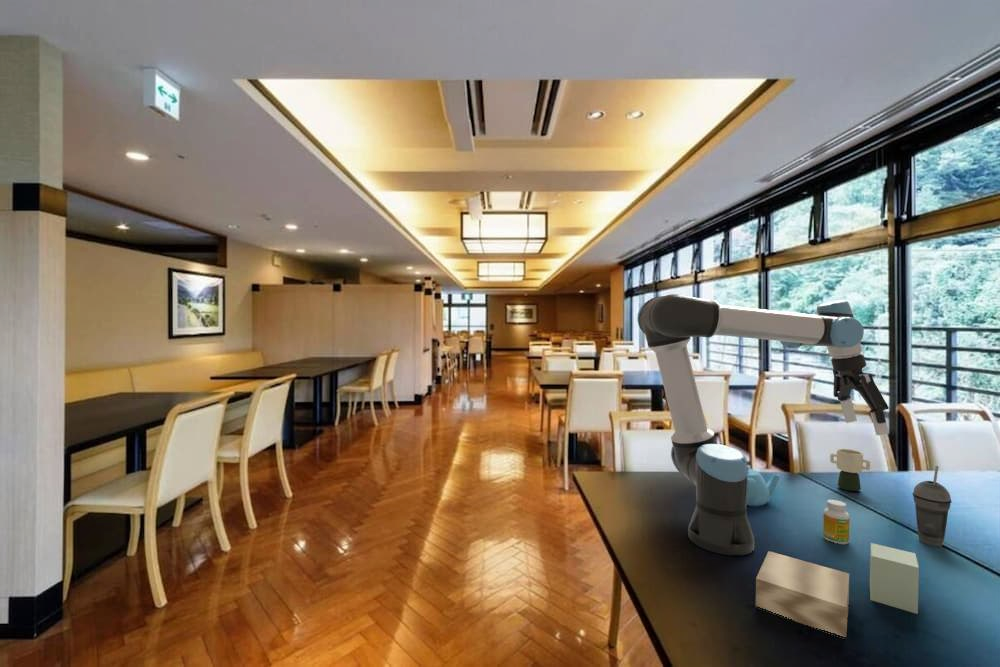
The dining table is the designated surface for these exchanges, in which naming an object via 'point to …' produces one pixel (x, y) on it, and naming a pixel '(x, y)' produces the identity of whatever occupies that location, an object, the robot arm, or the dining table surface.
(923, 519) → the beverage cup
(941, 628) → the dining table surface
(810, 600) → the maple block
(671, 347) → the robot arm
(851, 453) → the character mug
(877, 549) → the sage block
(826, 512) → the supplement bottle
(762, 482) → the teapot
